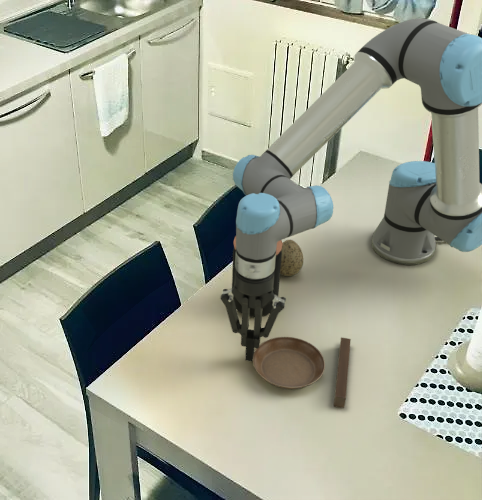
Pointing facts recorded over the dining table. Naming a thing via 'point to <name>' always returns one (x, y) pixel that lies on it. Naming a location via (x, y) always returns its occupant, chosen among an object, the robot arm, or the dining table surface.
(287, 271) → the decorative egg
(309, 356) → the saucer
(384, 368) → the dining table surface
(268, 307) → the coffee jar
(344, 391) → the walnut batten
